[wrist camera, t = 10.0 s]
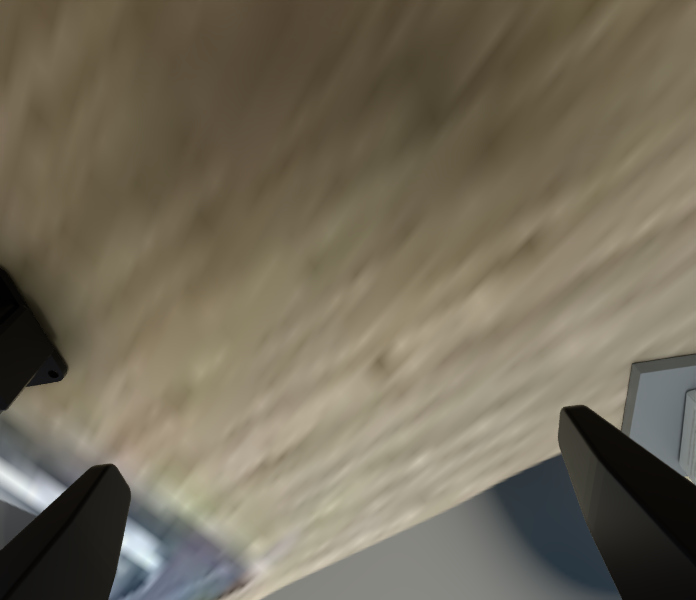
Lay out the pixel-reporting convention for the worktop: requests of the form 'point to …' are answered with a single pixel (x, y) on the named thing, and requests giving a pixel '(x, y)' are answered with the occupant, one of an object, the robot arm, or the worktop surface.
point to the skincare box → (689, 437)
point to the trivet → (659, 406)
